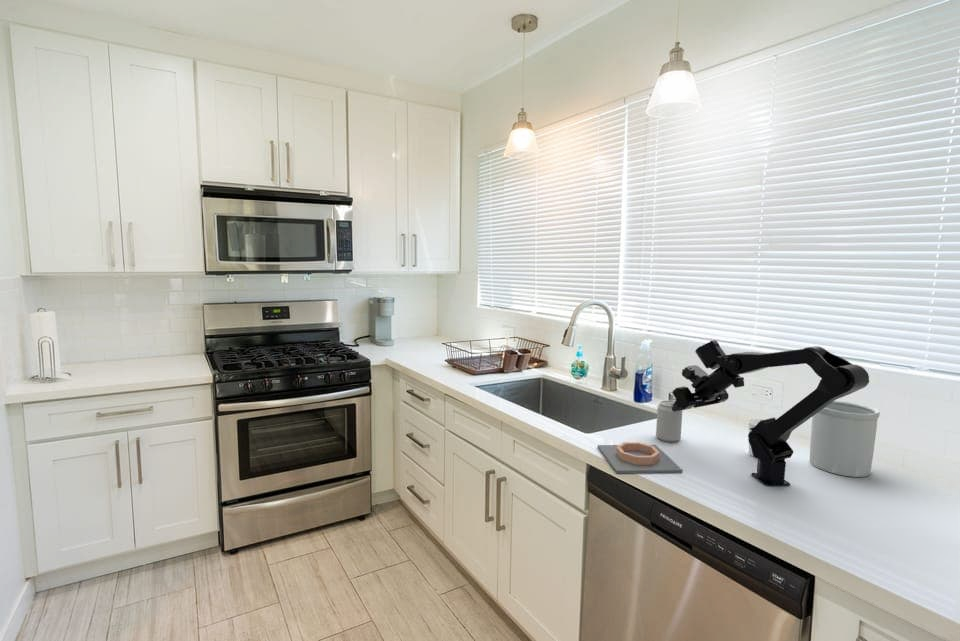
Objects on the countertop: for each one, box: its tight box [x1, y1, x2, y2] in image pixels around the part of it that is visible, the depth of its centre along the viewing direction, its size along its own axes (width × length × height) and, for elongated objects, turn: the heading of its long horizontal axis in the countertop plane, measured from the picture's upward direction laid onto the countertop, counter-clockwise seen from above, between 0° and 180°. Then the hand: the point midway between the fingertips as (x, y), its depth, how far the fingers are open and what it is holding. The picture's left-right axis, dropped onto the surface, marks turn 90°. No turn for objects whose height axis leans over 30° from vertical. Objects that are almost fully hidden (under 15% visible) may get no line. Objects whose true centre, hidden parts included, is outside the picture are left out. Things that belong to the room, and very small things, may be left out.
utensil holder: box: [809, 399, 881, 478], centre depth 133 cm, size 15×15×18 cm
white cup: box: [748, 418, 767, 457], centre depth 141 cm, size 8×8×10 cm
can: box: [655, 400, 683, 443], centre depth 154 cm, size 8×8×12 cm
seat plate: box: [597, 441, 683, 474], centre depth 138 cm, size 18×18×3 cm
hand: (683, 408), depth 149 cm, fingers open, 9 cm apart
